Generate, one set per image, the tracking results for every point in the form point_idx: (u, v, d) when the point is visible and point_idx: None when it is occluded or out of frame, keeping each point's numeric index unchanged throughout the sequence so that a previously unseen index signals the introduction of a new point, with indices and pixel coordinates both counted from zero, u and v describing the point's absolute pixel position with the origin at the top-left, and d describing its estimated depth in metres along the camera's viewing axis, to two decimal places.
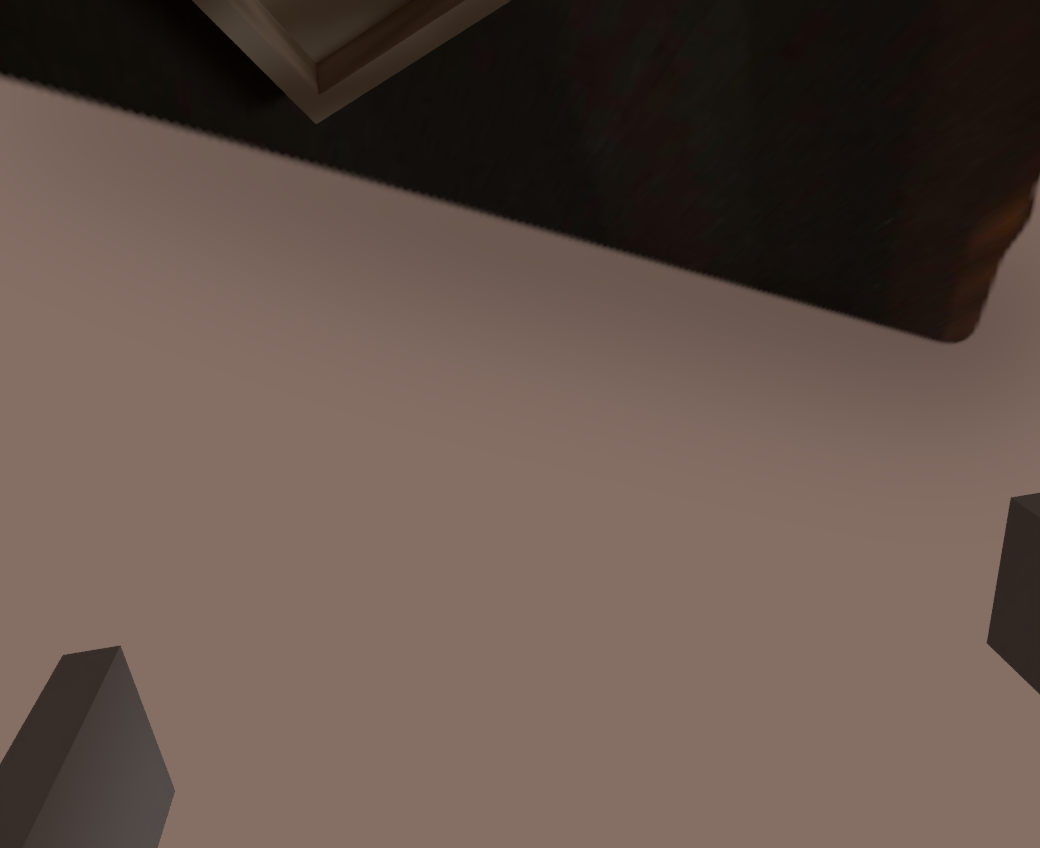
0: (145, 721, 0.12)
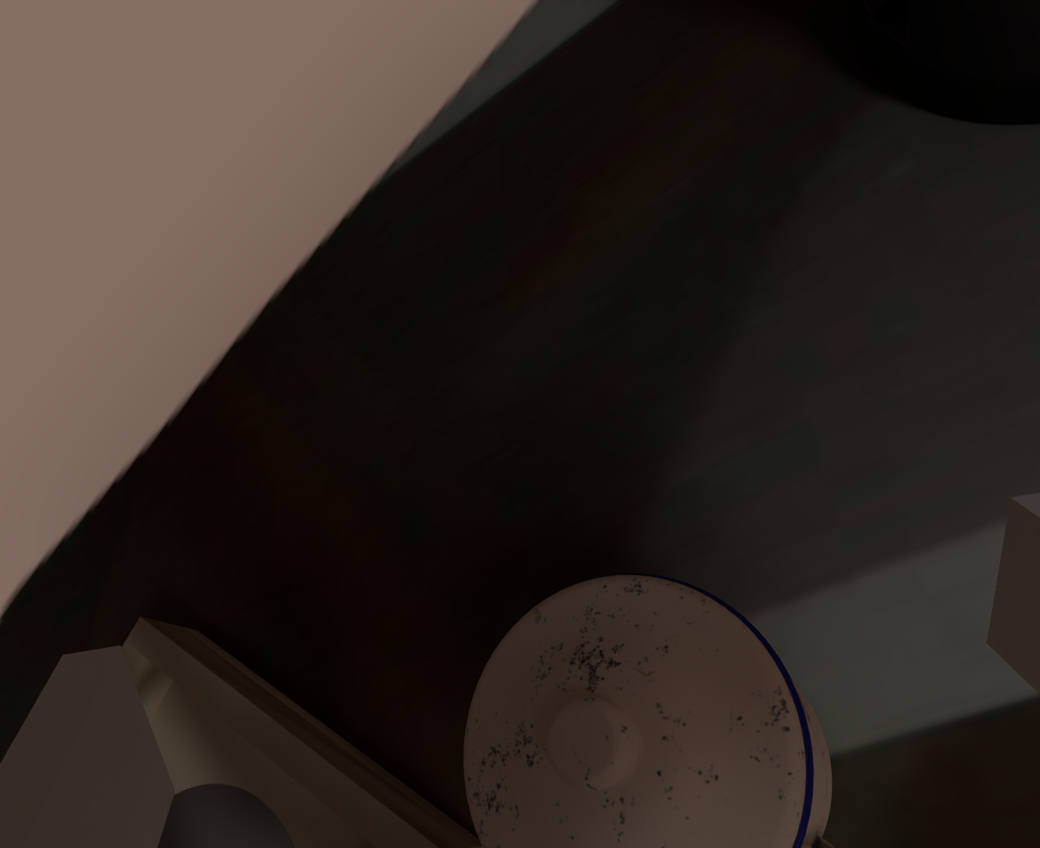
0: (144, 721, 0.12)
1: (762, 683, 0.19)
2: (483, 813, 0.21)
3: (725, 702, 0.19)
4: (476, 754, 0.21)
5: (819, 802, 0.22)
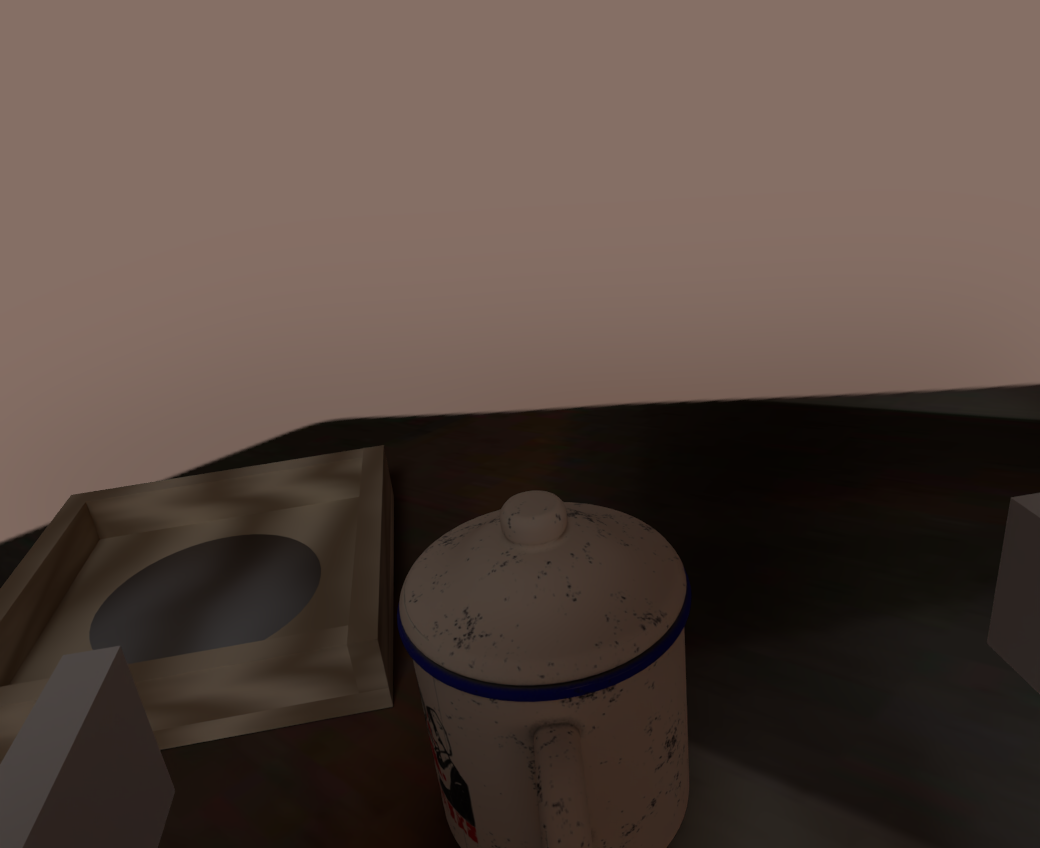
0: (145, 721, 0.12)
1: (658, 602, 0.23)
2: (437, 544, 0.27)
3: (625, 585, 0.23)
4: (468, 524, 0.28)
5: (615, 795, 0.23)
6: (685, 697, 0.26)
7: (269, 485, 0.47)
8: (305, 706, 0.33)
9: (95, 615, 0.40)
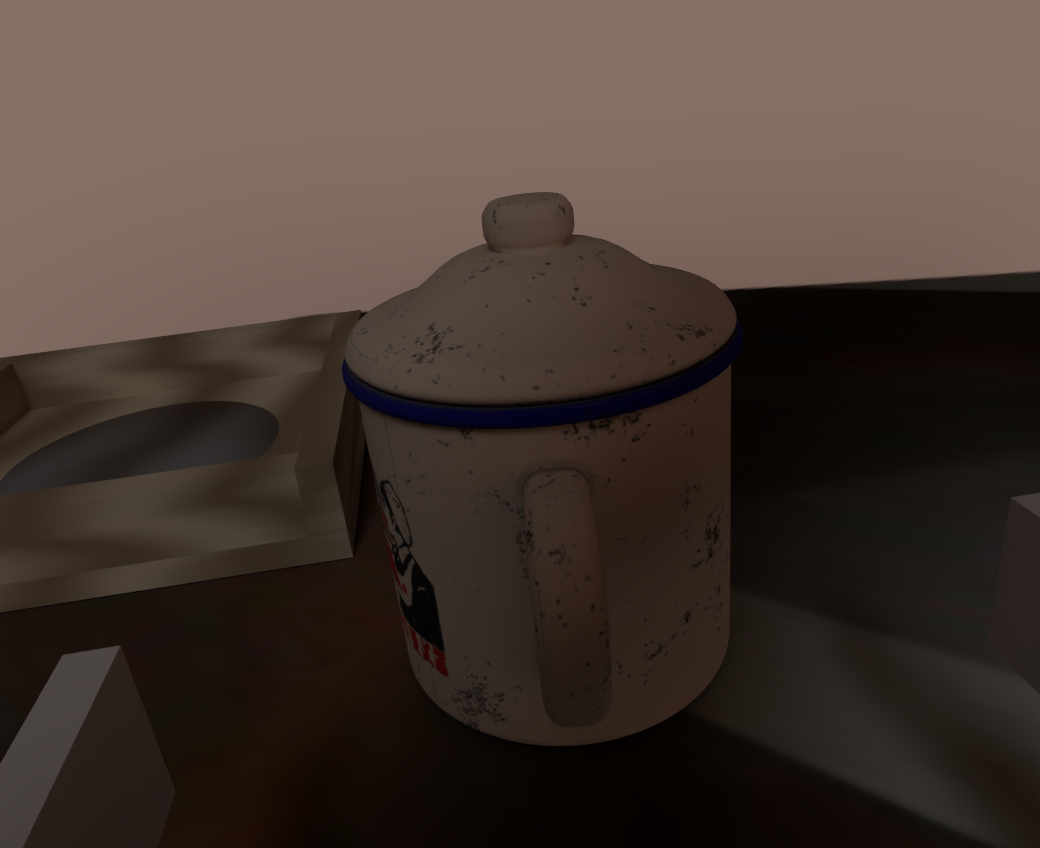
0: (144, 721, 0.12)
1: (700, 317, 0.16)
2: (402, 294, 0.20)
3: (654, 298, 0.17)
4: None
5: (636, 594, 0.17)
6: None
7: (226, 350, 0.41)
8: (242, 552, 0.26)
9: (7, 473, 0.33)
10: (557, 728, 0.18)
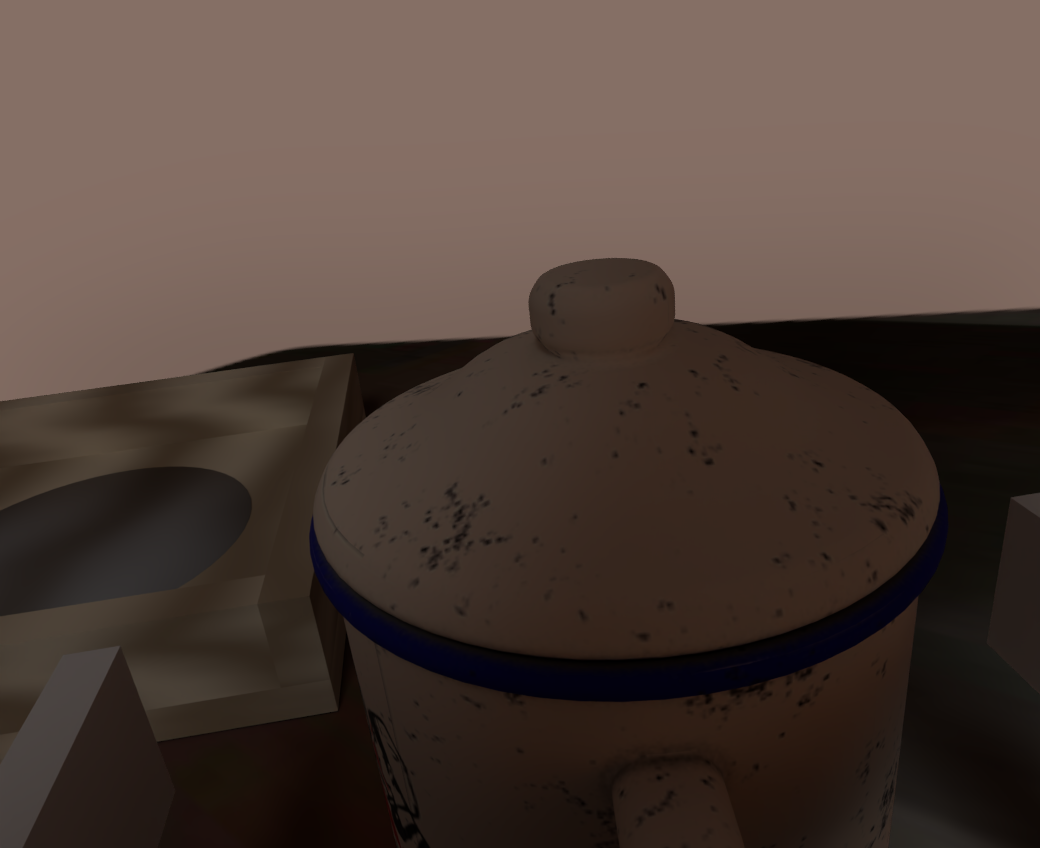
0: (145, 720, 0.12)
1: (897, 477, 0.10)
2: (403, 396, 0.14)
3: (816, 441, 0.10)
4: None
5: None
6: None
7: (194, 403, 0.34)
8: (191, 708, 0.20)
9: None
10: None
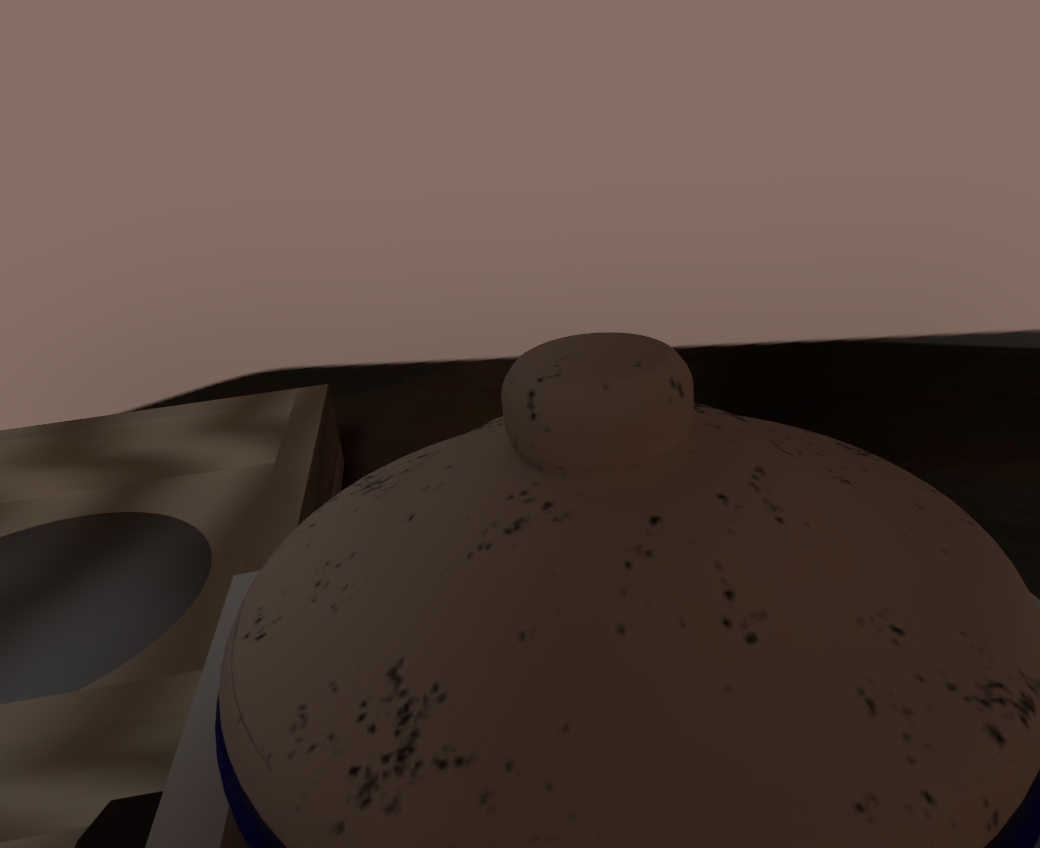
0: None
1: (1002, 645, 0.07)
2: (349, 492, 0.11)
3: (890, 592, 0.08)
4: (426, 452, 0.12)
5: None
6: None
7: (153, 440, 0.31)
8: None
9: None
10: None
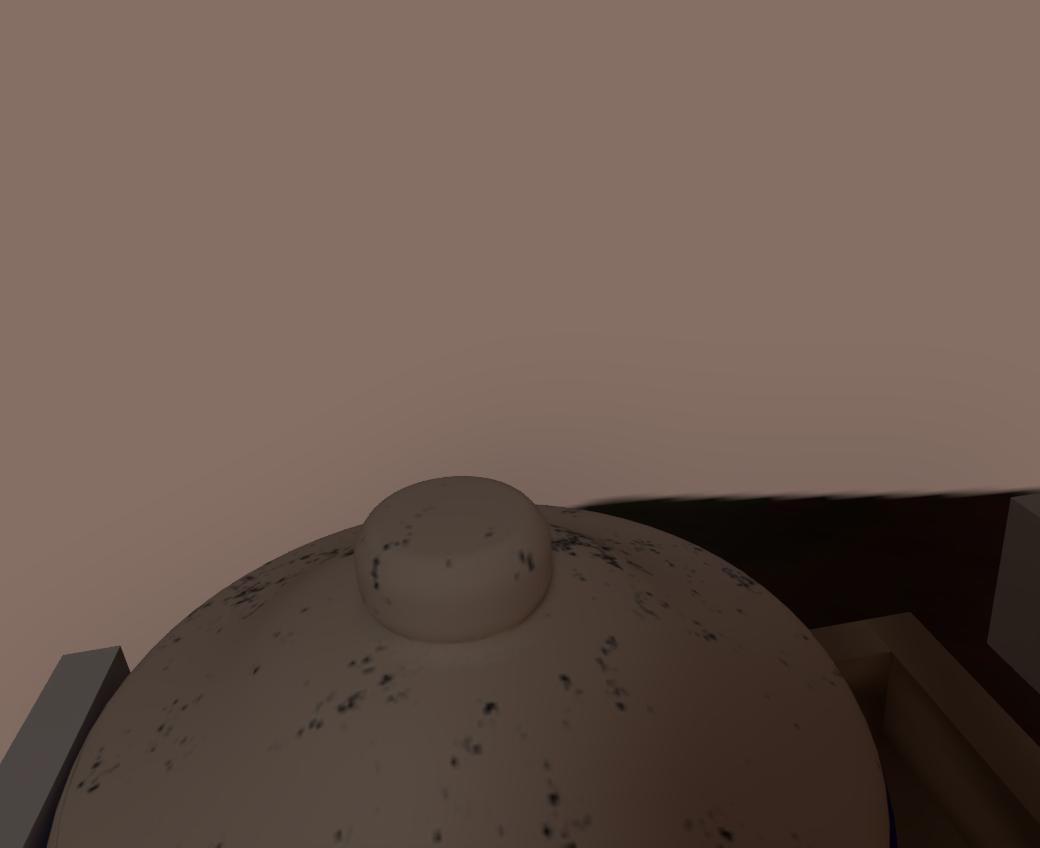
0: None
1: None
2: (224, 598, 0.11)
3: (727, 785, 0.07)
4: (312, 549, 0.12)
5: None
6: None
7: None
8: None
9: None
10: None
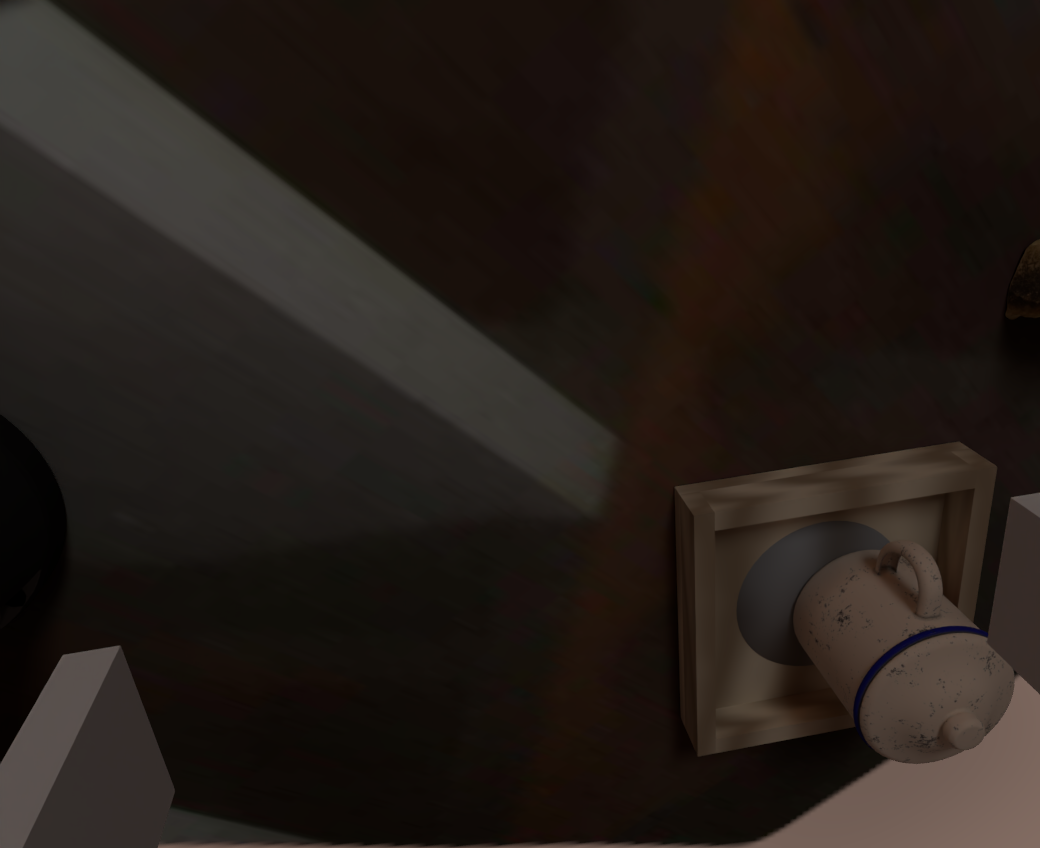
0: (145, 721, 0.12)
1: (890, 682, 0.43)
2: (992, 725, 0.45)
3: (908, 691, 0.43)
4: None
5: (873, 591, 0.47)
6: (832, 643, 0.47)
7: (792, 714, 0.53)
8: (734, 484, 0.48)
9: None
10: (875, 553, 0.50)
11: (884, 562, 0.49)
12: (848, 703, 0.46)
